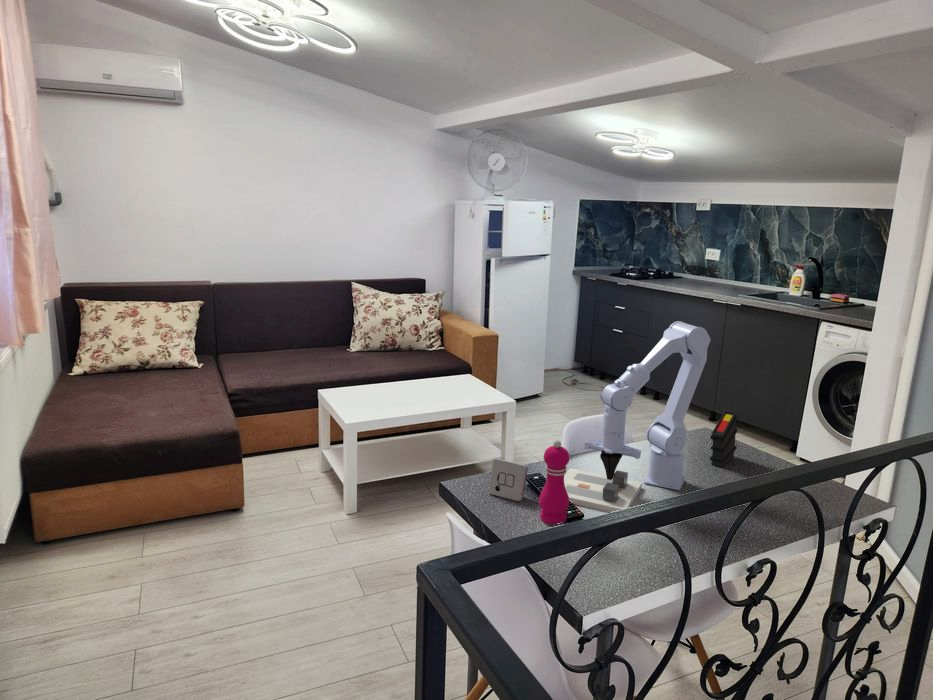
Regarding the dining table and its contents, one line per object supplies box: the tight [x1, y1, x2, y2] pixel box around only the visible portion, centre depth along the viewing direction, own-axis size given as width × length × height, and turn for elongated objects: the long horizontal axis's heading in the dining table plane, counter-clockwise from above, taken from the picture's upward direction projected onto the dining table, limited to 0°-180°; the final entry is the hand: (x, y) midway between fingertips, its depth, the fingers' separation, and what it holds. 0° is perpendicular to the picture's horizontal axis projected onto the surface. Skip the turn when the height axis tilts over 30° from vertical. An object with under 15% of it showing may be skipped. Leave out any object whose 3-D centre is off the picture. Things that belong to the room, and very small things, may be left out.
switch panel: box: [564, 467, 643, 513], centre depth 173 cm, size 20×18×2 cm
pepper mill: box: [538, 440, 570, 525], centre depth 157 cm, size 7×7×20 cm
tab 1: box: [602, 483, 619, 501], centre depth 166 cm, size 3×4×3 cm
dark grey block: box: [612, 469, 629, 488], centre depth 174 cm, size 3×4×3 cm
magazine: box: [709, 410, 738, 468], centre depth 195 cm, size 4×13×15 cm, turn 140°
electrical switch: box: [488, 458, 529, 502], centre depth 171 cm, size 9×5×9 cm, turn 60°
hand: (610, 478), depth 175 cm, fingers closed
